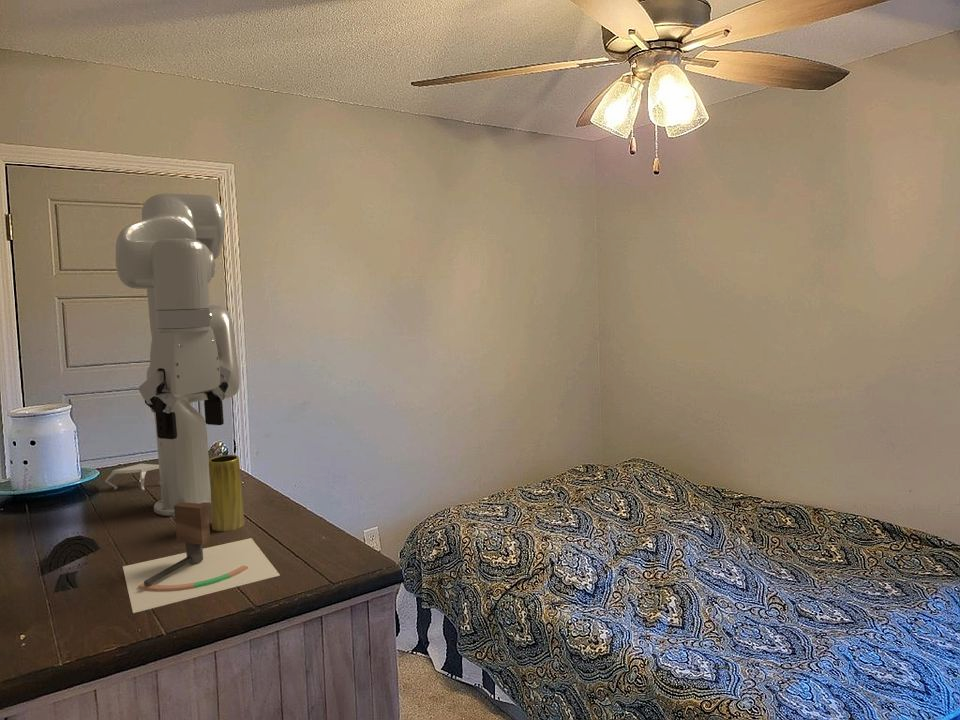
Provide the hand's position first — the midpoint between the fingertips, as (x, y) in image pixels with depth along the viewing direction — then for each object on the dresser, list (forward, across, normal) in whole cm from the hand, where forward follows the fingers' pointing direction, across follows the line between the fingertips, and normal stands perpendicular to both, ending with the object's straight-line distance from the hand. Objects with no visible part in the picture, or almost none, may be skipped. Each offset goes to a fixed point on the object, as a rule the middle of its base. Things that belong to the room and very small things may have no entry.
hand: (192, 431), depth 101 cm
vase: (+24, -15, -8) cm, 29 cm away
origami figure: (+24, -32, -50) cm, 64 cm away
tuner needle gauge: (+21, +4, -2) cm, 22 cm away
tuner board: (+23, +2, +1) cm, 23 cm away
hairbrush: (+24, +8, -19) cm, 32 cm away
